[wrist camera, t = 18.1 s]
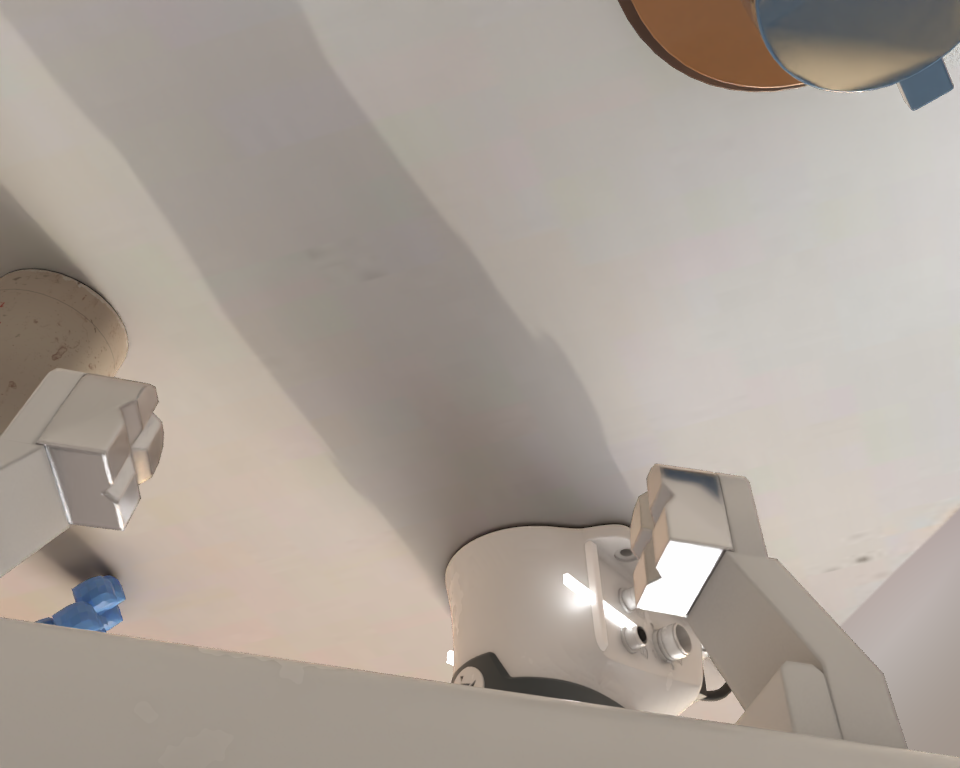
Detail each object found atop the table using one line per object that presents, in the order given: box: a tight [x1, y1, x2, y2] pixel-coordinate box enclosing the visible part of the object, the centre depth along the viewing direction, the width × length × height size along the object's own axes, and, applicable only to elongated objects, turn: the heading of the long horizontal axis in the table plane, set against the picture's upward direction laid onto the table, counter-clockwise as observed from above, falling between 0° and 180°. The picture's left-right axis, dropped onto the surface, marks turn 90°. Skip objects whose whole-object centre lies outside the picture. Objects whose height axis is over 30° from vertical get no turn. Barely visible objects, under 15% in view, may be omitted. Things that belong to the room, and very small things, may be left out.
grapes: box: [36, 575, 126, 633], centre depth 59 cm, size 12×7×12 cm, turn 161°
